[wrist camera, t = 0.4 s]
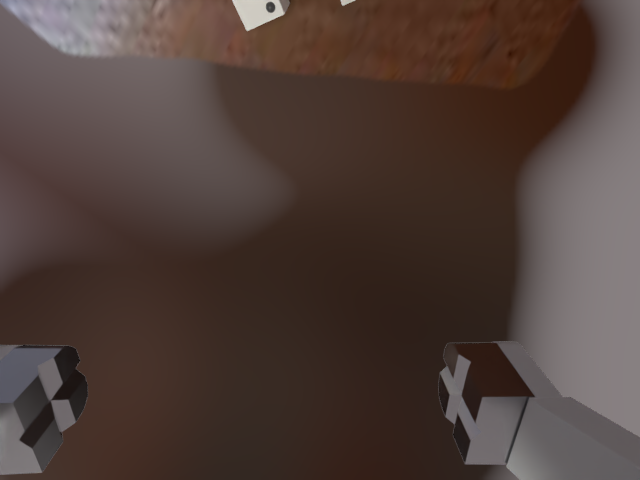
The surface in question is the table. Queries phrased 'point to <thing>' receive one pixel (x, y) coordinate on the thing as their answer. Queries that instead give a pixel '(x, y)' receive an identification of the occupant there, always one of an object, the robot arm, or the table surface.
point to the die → (259, 11)
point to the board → (346, 2)
